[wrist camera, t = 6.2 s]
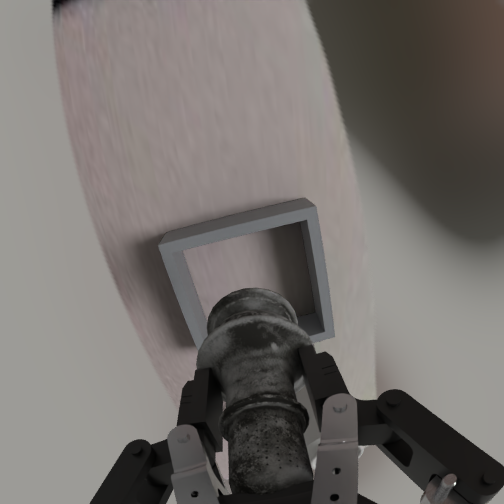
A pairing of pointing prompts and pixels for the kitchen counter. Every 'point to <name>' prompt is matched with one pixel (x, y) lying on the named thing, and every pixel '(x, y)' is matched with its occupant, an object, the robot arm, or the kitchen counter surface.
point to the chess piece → (259, 389)
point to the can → (313, 429)
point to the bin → (242, 224)
